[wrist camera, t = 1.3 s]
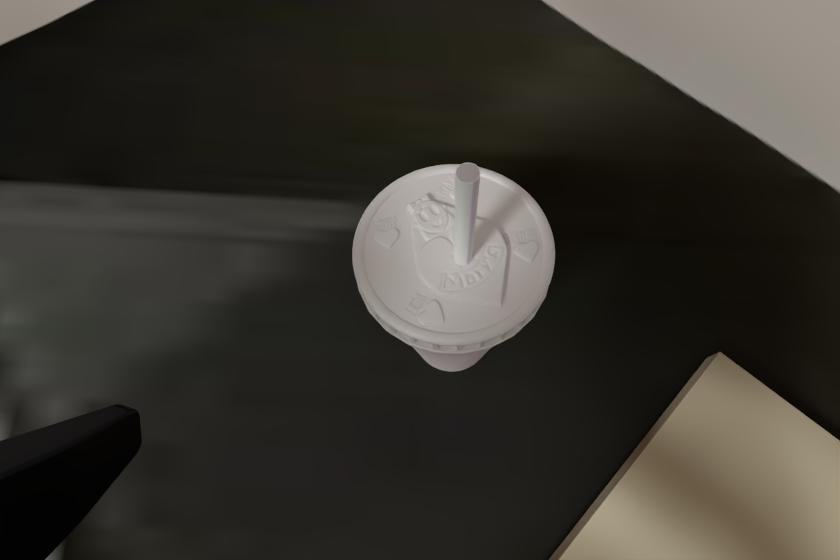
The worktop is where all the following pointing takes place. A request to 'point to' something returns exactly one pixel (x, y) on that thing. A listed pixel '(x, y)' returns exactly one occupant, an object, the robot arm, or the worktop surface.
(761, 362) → the worktop surface
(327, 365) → the worktop surface
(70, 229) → the worktop surface
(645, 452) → the cutting board
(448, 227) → the smoothie
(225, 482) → the worktop surface
